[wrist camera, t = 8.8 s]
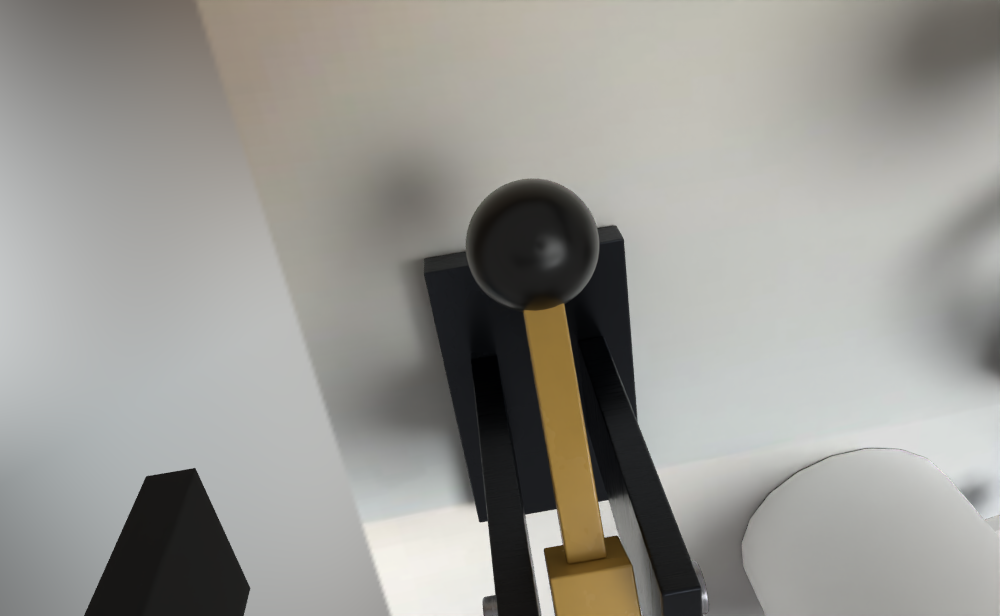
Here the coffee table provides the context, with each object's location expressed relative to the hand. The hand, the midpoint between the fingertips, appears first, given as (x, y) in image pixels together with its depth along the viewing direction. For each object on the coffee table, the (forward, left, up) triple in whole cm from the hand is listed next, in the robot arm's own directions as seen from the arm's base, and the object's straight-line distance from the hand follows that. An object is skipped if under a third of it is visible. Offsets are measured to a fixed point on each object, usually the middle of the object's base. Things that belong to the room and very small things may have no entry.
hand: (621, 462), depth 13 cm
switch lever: (+5, +2, -9) cm, 11 cm away
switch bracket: (+9, +3, -16) cm, 19 cm away
